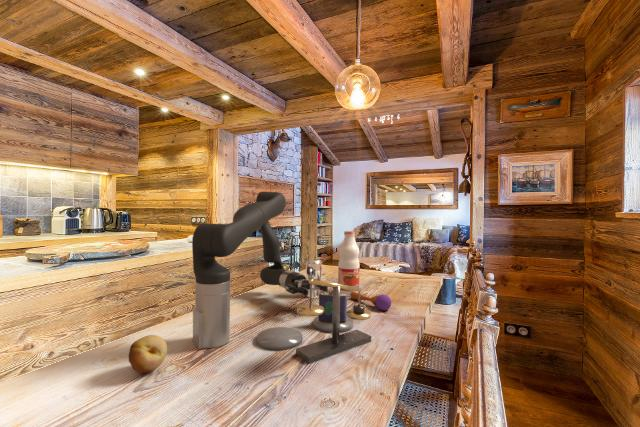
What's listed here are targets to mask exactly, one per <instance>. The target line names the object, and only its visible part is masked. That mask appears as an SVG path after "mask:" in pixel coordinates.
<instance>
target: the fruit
mask: <svg viewBox="0 0 640 427" xmlns="http://www.w3.org/2000/svg"><path fill="white" fill-rule="evenodd" d="M167 353H168V345H167V342H166V340H165V339H164V338H163V337H162V336H159V335H156V334H149V335H145V336H142V337H140V338H138V339H137V340H135V341H134V342H133V343H132V344H131V345H130V347H129V352H128V361H129V363H130V366H131V368H132V370H133V371H135V372H137V373H140V374H147V373H151V372H153V371H155V370H156V369H157V368H159V367H160V366H161V365H162V364H163V362H164V360H165V359H166V356H167Z"/></svg>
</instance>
